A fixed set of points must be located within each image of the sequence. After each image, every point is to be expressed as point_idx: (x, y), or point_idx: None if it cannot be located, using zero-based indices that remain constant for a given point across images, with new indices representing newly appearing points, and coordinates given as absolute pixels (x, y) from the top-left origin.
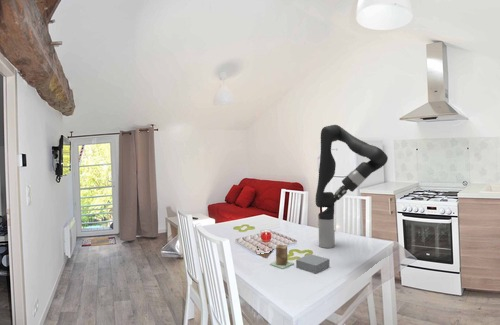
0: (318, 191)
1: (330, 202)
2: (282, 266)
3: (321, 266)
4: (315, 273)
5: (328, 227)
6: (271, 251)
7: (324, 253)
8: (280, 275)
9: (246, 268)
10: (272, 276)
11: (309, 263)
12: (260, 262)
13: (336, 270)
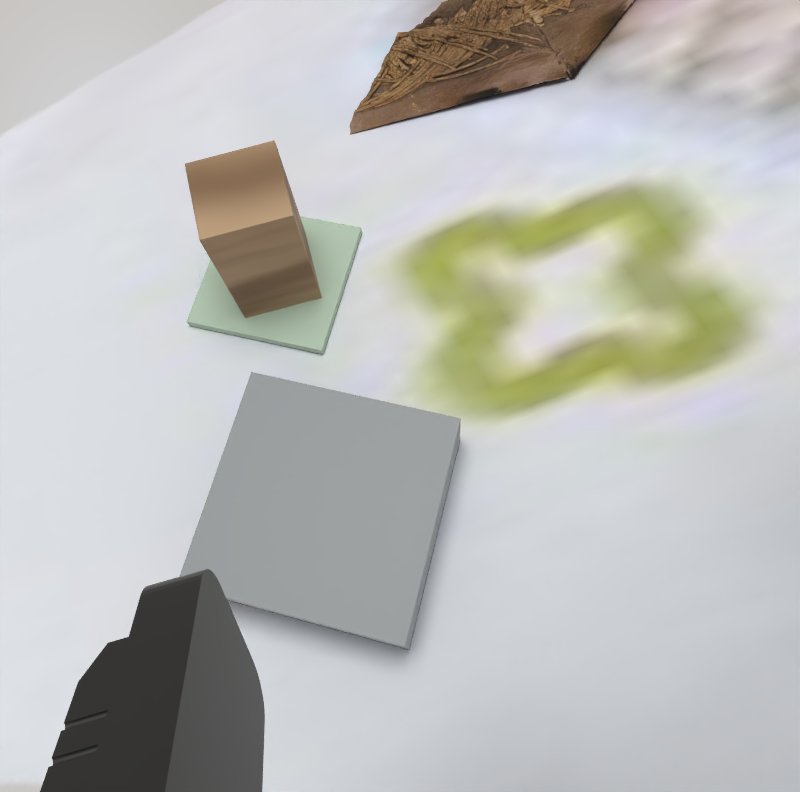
0: None
1: (109, 676)
2: (217, 305)
3: (272, 611)
4: None
5: None
6: (495, 92)
7: (737, 480)
8: (70, 363)
9: (110, 119)
10: (34, 324)
11: (206, 512)
12: (253, 137)
13: (352, 740)
